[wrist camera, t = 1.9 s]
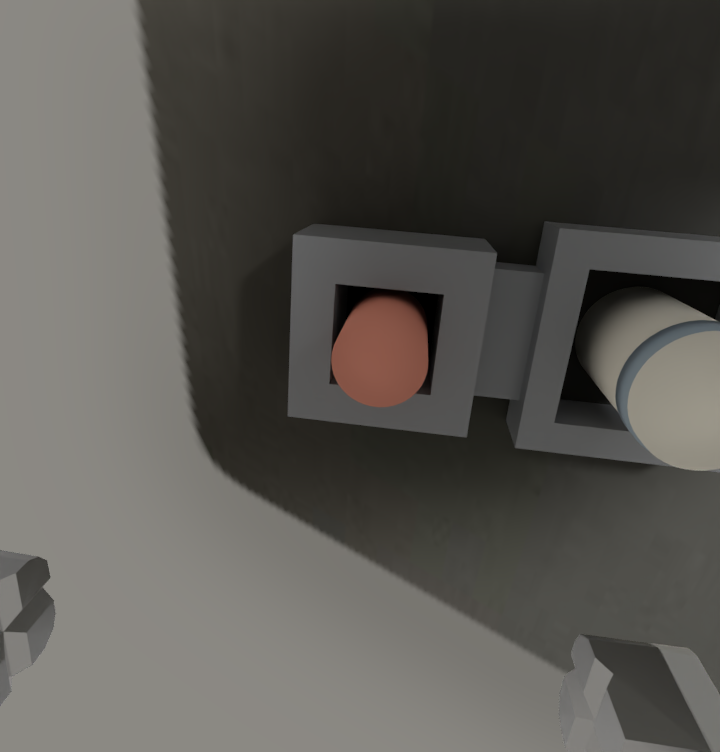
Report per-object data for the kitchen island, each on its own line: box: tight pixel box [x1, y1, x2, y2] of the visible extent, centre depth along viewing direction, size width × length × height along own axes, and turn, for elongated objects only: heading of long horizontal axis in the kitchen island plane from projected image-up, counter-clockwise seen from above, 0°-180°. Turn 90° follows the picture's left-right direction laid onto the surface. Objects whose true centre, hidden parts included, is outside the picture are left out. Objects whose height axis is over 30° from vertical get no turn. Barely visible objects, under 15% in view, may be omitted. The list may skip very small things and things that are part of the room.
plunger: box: [331, 288, 428, 407], centre depth 22 cm, size 4×4×5 cm
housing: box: [288, 221, 720, 472], centre depth 24 cm, size 20×10×4 cm, turn 85°
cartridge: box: [575, 286, 720, 471], centre depth 22 cm, size 5×5×8 cm
